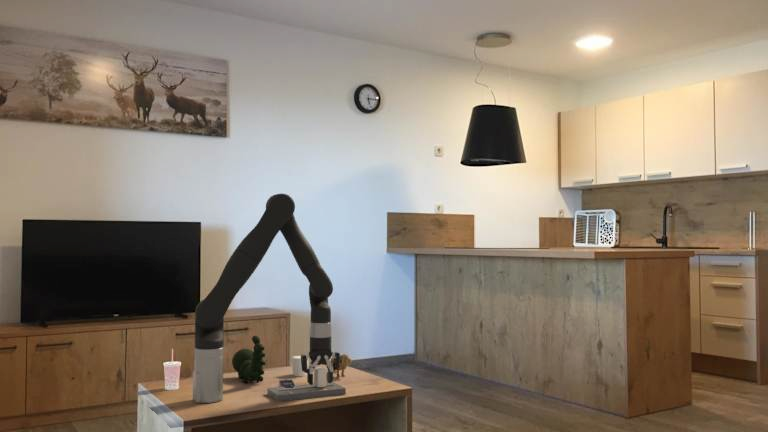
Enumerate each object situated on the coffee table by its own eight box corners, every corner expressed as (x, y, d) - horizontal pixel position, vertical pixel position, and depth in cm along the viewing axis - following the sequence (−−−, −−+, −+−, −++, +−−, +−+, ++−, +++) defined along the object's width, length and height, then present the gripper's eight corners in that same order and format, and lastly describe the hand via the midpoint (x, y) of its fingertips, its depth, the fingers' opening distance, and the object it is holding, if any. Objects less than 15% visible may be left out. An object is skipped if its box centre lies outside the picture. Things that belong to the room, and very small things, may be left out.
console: (278, 401, 217) (278, 395, 217) (267, 393, 228) (267, 387, 228) (345, 394, 228) (345, 388, 228) (332, 387, 239) (332, 381, 239)
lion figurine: (353, 377, 256) (353, 354, 256) (342, 379, 252) (342, 355, 253) (332, 371, 267) (333, 349, 268) (321, 373, 264) (321, 350, 265)
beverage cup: (182, 389, 235) (183, 349, 236) (165, 391, 232) (165, 350, 232) (178, 385, 240) (179, 346, 241) (161, 387, 237) (161, 348, 238)
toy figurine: (270, 389, 242) (249, 371, 264) (273, 338, 241) (251, 324, 263) (245, 392, 237) (226, 373, 259) (247, 340, 236) (228, 325, 258)
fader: (318, 392, 228) (318, 369, 228) (313, 390, 231) (314, 367, 232) (326, 391, 229) (326, 369, 230) (321, 389, 233) (322, 367, 233)
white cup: (307, 376, 257) (307, 358, 258) (290, 376, 257) (290, 358, 258) (309, 373, 264) (310, 355, 264) (292, 373, 264) (292, 355, 264)
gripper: (304, 337, 224) (304, 387, 224) (343, 335, 231) (343, 383, 230) (297, 335, 231) (296, 383, 231) (335, 332, 238) (335, 379, 237)
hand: (320, 383), depth 230 cm, fingers open, 6 cm apart
